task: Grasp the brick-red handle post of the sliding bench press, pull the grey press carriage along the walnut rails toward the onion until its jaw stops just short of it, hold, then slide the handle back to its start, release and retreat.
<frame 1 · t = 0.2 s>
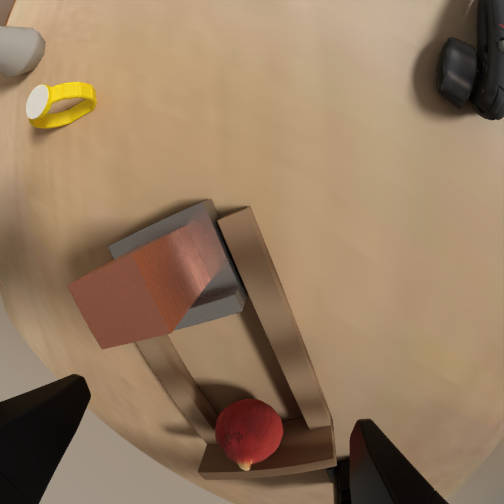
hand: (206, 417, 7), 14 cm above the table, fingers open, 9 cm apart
bench: (228, 356, 23), on the table
watch: (82, 110, 20), on the table
can opener: (475, 48, 14), on the table
press: (156, 286, 17), point 5 cm above the table, slide at 0.0 cm
salt shaker: (35, 56, 18), on the table
onion: (254, 401, 25), resting in bench
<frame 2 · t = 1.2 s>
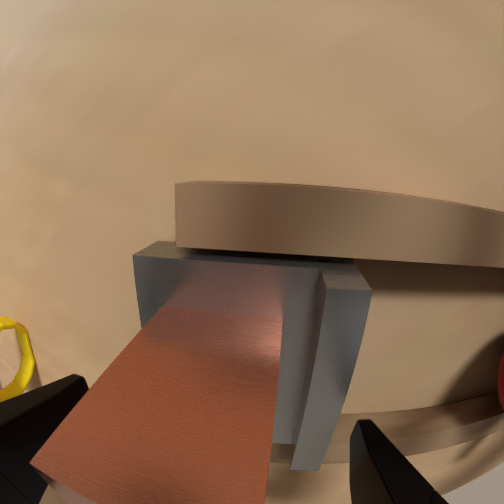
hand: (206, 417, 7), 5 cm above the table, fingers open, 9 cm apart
bench: (435, 344, 11), on the table
watch: (27, 341, 15), on the table
press: (224, 423, 7), point 5 cm above the table, slide at 0.0 cm
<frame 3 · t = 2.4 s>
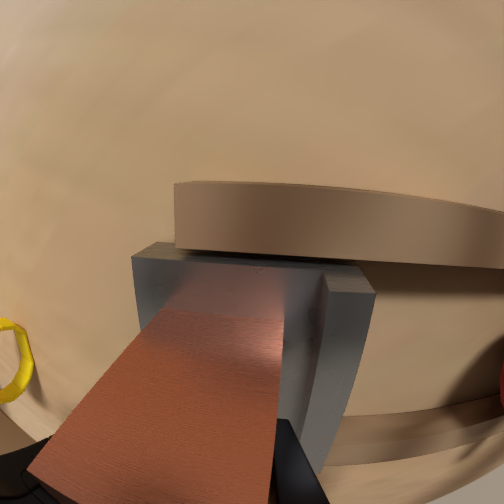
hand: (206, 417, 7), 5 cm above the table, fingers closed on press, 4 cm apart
bench: (437, 345, 11), on the table
watch: (26, 342, 15), on the table
press: (224, 428, 7), point 5 cm above the table, slide at 0.0 cm, touching gripper
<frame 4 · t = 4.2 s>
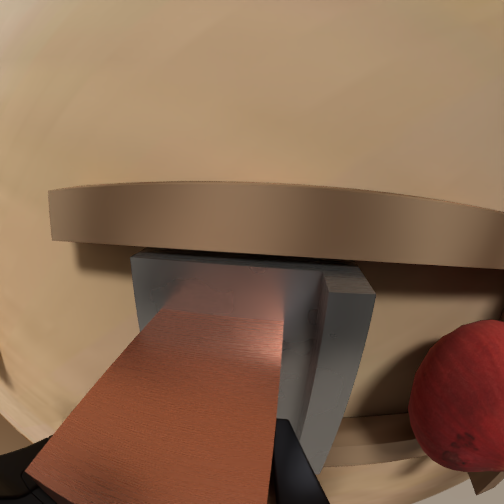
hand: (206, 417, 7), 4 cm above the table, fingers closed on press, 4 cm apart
bench: (324, 348, 11), on the table
press: (223, 429, 7), point 5 cm above the table, slide at 5.7 cm, touching gripper
onion: (442, 343, 11), resting in bench
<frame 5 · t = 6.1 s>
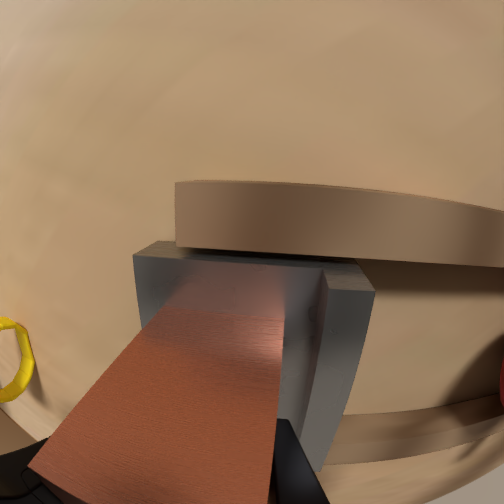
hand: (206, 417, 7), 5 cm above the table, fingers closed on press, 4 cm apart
bench: (437, 344, 11), on the table
watch: (27, 341, 15), on the table
press: (225, 425, 7), point 5 cm above the table, slide at 0.0 cm, touching gripper
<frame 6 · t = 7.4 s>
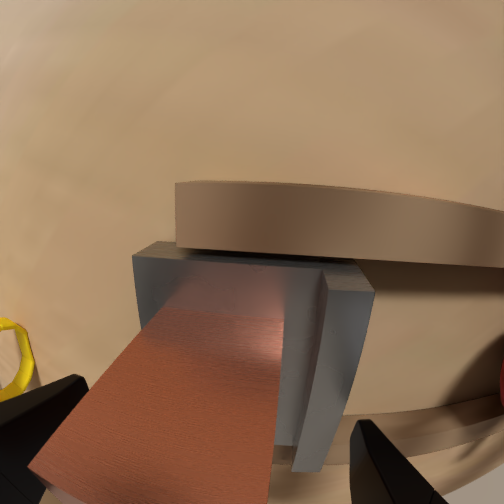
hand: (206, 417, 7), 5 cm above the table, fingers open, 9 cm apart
bench: (437, 344, 11), on the table
watch: (27, 342, 15), on the table
press: (224, 426, 7), point 5 cm above the table, slide at 0.0 cm
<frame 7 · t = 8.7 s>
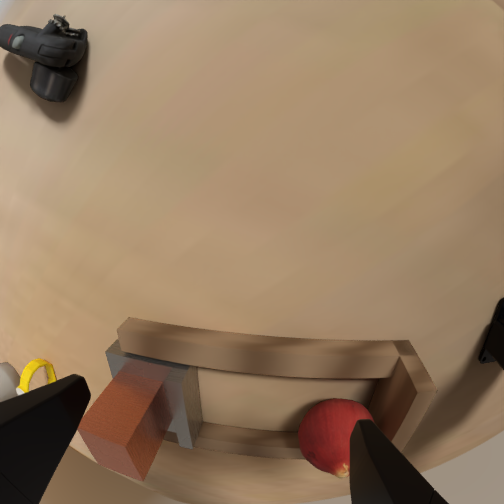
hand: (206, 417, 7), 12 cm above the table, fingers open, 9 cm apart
bench: (261, 398, 22), on the table
watch: (52, 370, 26), on the table
can opener: (47, 50, 16), on the table
press: (140, 419, 18), point 5 cm above the table, slide at 0.0 cm
salt shaker: (13, 372, 28), on the table
onion: (332, 400, 21), resting in bench
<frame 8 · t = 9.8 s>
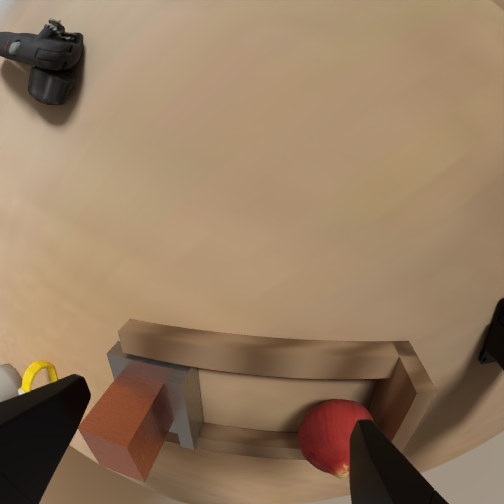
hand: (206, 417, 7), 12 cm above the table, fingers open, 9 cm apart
bench: (262, 399, 22), on the table
watch: (54, 372, 26), on the table
can opener: (44, 55, 16), on the table
press: (142, 420, 18), point 5 cm above the table, slide at 0.0 cm
salt shaker: (15, 374, 29), on the table
onion: (332, 401, 21), resting in bench
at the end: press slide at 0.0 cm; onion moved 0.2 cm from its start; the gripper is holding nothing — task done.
